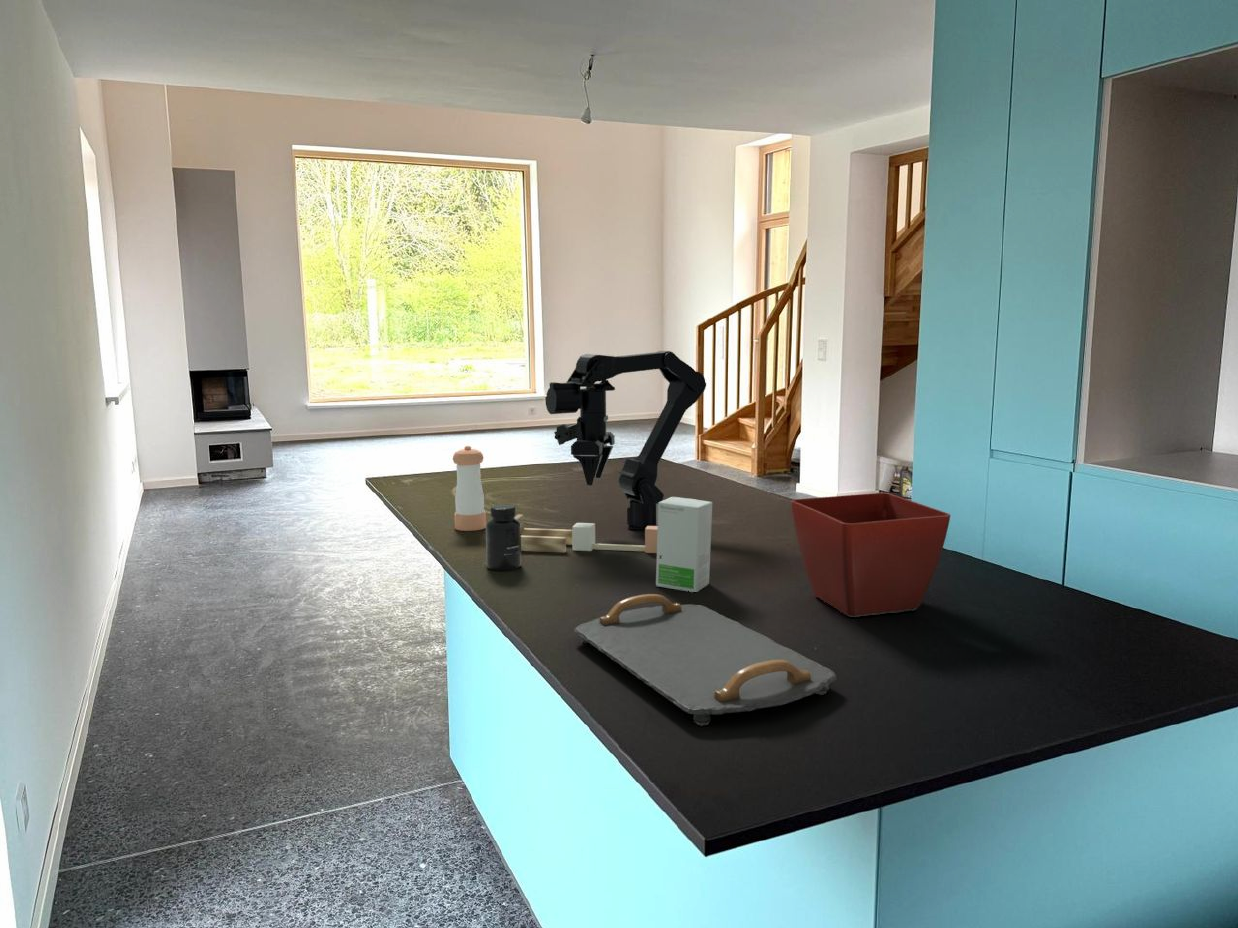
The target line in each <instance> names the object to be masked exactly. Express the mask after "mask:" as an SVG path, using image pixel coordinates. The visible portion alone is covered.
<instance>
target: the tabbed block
mask: <svg viewBox="0 0 1238 928" xmlns="http://www.w3.org/2000/svg"><path fill="white" fill-rule="evenodd" d="M571 530H572V545H571V546H572V551H575V552H576V551H581V552H592V551H593V550H597V551H598V550H600V551H602V550H603V551H624V552H625V551H630V552H632V551H633V552H644V553H645V554H657V533H658V526H647V527H646V529H645V530H644V545H643V544H642V545H641V544H639V545H638V544H619V543H618V544H617V543H616V544H615V543H613V544H612V543H596V523H593V522H592V523H591V522H576V523H574V524H573V526H572V527H571Z"/></svg>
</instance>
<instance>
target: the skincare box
mask: <svg viewBox="0 0 1238 928" xmlns="http://www.w3.org/2000/svg"><path fill="white" fill-rule="evenodd" d="M712 520H713V501H708V500H702V499H701V500H700V499H694V498H688V497H687V498H686V497H678V496H670V497H668V498H666V499H663V500H662V501H661V502H659V503H658V533H657V553H656V563H655V564H656V567H655V570H656V571H655V572H656V573H655V586H656V587H660V588H666V589H673V590H676V591H684V592H688V591H689V593H693V592H697V593H699V591H701V590H702V589H703V588H706V587H707V586H709V585H710V567H711V542H712Z"/></svg>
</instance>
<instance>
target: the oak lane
mask: <svg viewBox="0 0 1238 928" xmlns="http://www.w3.org/2000/svg"><path fill="white" fill-rule="evenodd" d="M524 518H525V517H524V514H521V513H520V514H519V513H518V514H516V516H515V519H517V520H518V521H519V522H520V524H521V552H541V553H543V552H544V553H546V552H547V553H566V552H567V545H571V546H572V529H563V528H562V529H561V528H560V529H559V528H536V527H534V528H532V527H531V528H530V527H525V526H524V525H525V524H524V523H525V522H524Z"/></svg>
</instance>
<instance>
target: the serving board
mask: <svg viewBox="0 0 1238 928" xmlns="http://www.w3.org/2000/svg"><path fill="white" fill-rule="evenodd" d="M650 603H651V604H652V603H656V604H661V605H655V606H652V607H651V606H649V607H641V608H639V607H638V608H635V609H634V608H633V609H629V608H632V607H635V606H639V605H644V604H650ZM627 609H629V610H627ZM574 633H575V634H576V635H578V636H579V637H580V638H581V642H582V643H583V642H584V643H583V644H585V643H590V644H589V645H591V646H593V647H594V648H595V649H597V650H598V651H599V652H600V653H603V654H605V656H607V657H608V658H610V659H611V660H612V661H613V662H615V663H616V664H618V665H620V666H621V667H622V668H623V669H625V670H626V671H628V672H629V673H630V674H631V675H633V676H634V677H636V678H637V679H638V680H639V681H641V682H643V684H646V685H647V686H648V687H650V688H652V689H653V690H654V691H655V692H657V693H658V694H659V695H661V696H663V697H664V698H666V699H667V700H668V701H670V702H671V703H672V704H674V705H675V706H677V708H680V710H682V711H684V712H685V713H687V714H689V715H693V717H692V721H693V720H694V721H695V722H699V723H707V722H709V721H711V722H712V716H711V715H716V716H718V715H719V716H721V715H724V714H734V713H743V712H751V711H756V710H760V709H767V708H772V707H773V708H774V707H779V706H783V705H786V704H790V703H793V702H795V701H799V700H801V699H803V698H806V697H808V696H811V695H815V694H814V693H817V692H818V691H826V690H828V691H829V685H832V684H833V683H834V682H835V681H836V680H837V676H836V674H835V672H834V671H833V670H831V669H830V668H828V667H825V666H824V665H822V664H820V663H818V662H816V661H814V660H812V659H809V658H808V657H806V656H804V655H802V654H800V653H798V652H797V651H795V650H793V649H791V648H789V647H787V646H783V645H782V644H779V643H778V642H775V641H774V640H773V639H771V638H769V637H768V636H765V635H764V634H762V633H760V632H758V631H754V630H753V629H752V628H749V627H746V626H745V625H743V624H741V623H740V622H739V621H736V620H733V619H731V618H728V617H727V616H724V615H723V614H720V613H718V612H717V611H715V610H712V609H710V608H708V607H706V606H704V605H701V604H693V603H692V604H689V603H688V604H680V603H679V602H675V603H673V602H671V601H670V600H669V599H668V598H666V597H665V596H663V595H662V594H656V593H646V594H645V593H644V594H639V595H634V596H630V597H626V598H624V599H622V600H620V601H619V602H617V603H615V604H614V606H613V607H612V608H611V609H610V610H609V612H608V613H607V614H606V615H603V616H600V617H597V618H594V619H592V620H589V621H587V622H584V623H581V624H579V625H577V626H576V627H575V628H574ZM694 721H693V722H694Z"/></svg>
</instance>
